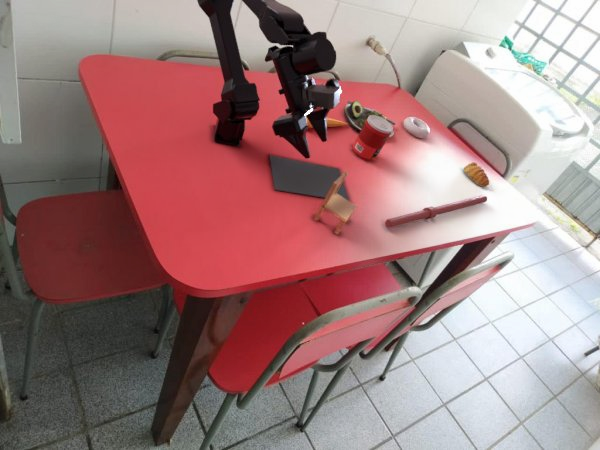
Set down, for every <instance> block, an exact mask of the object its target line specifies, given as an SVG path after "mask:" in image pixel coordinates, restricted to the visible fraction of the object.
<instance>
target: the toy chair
mask: <svg viewBox="0 0 600 450" xmlns="http://www.w3.org/2000/svg"><path fill="white" fill-rule="evenodd" d="M348 174H349V171H347V170H344V171H343V172H342V174H341V176H340V177H339V178H338V179H337V180H336V181H335V182H334V183H333V185H332V187H331V189H330V190H329V192H328V194H327V196H326V198H324V200H323V201H322V203H321V205H320V207H319V208H318V211H317V212H316V214H315V216H314V217H313V220H315V221H316V222H318V221H319V219H320V218H321V216H322V214H323V212H324V210H325V211H327V212H329V213H330V214H332V215H333V216H335V217H336V218H338V219H339V220H341V221H340V223H339V224H338V226H337V227H336V229H335V230H334V234H336V235H339V234H340V232H341V230H342V229H343V227H344V226H345V224H346V223H348V222H349V220H350V218H351V217H352V215H353V214H354V212H355V211H356V209H357V205H355V203H352V202H351V201H350V200H349V201H350V202H349V201H348V200H346V199H345V198H343V197H342V196H340V195H339V194H337V192H338V190H339V188H340V186H341V184H342V183H344V181H345V179H346V178H347V176H348Z"/></svg>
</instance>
